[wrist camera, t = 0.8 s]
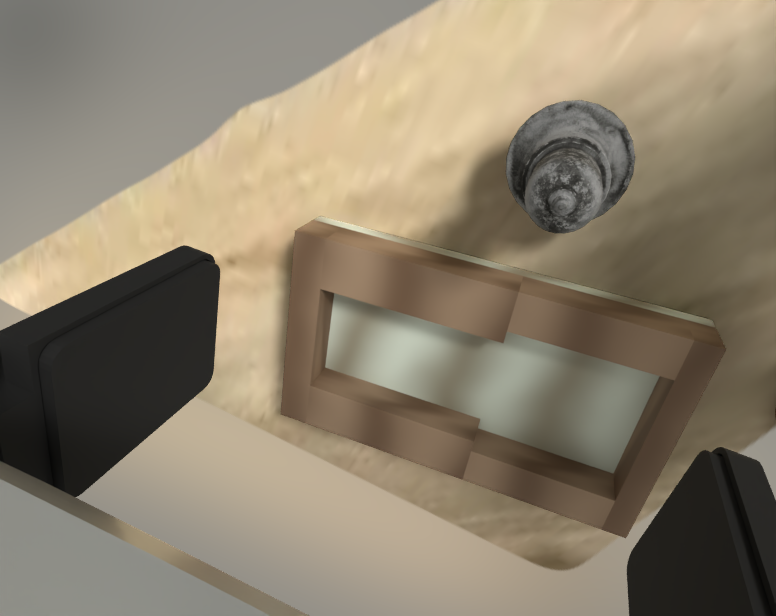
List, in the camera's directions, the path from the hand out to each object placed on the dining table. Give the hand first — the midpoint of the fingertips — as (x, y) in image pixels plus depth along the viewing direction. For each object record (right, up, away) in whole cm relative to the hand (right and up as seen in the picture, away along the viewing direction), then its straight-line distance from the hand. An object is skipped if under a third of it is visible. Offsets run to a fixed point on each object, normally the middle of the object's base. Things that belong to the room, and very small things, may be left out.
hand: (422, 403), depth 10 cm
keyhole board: (+5, -2, +26) cm, 26 cm away
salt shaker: (+9, +10, +19) cm, 23 cm away
